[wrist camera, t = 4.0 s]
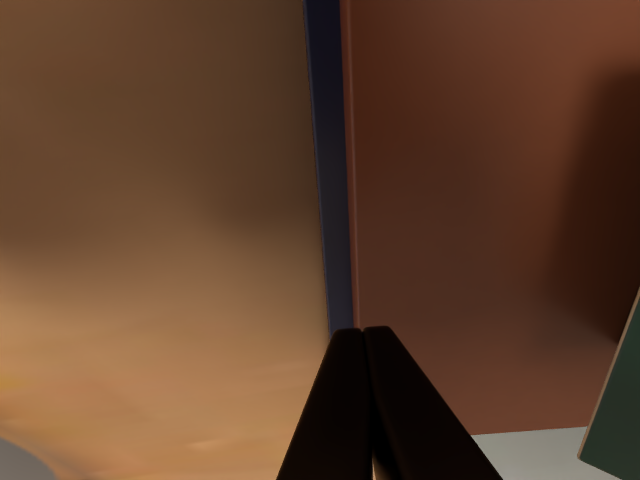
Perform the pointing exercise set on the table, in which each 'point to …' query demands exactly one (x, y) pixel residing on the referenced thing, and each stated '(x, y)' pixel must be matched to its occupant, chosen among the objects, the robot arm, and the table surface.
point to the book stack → (482, 192)
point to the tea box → (618, 409)
